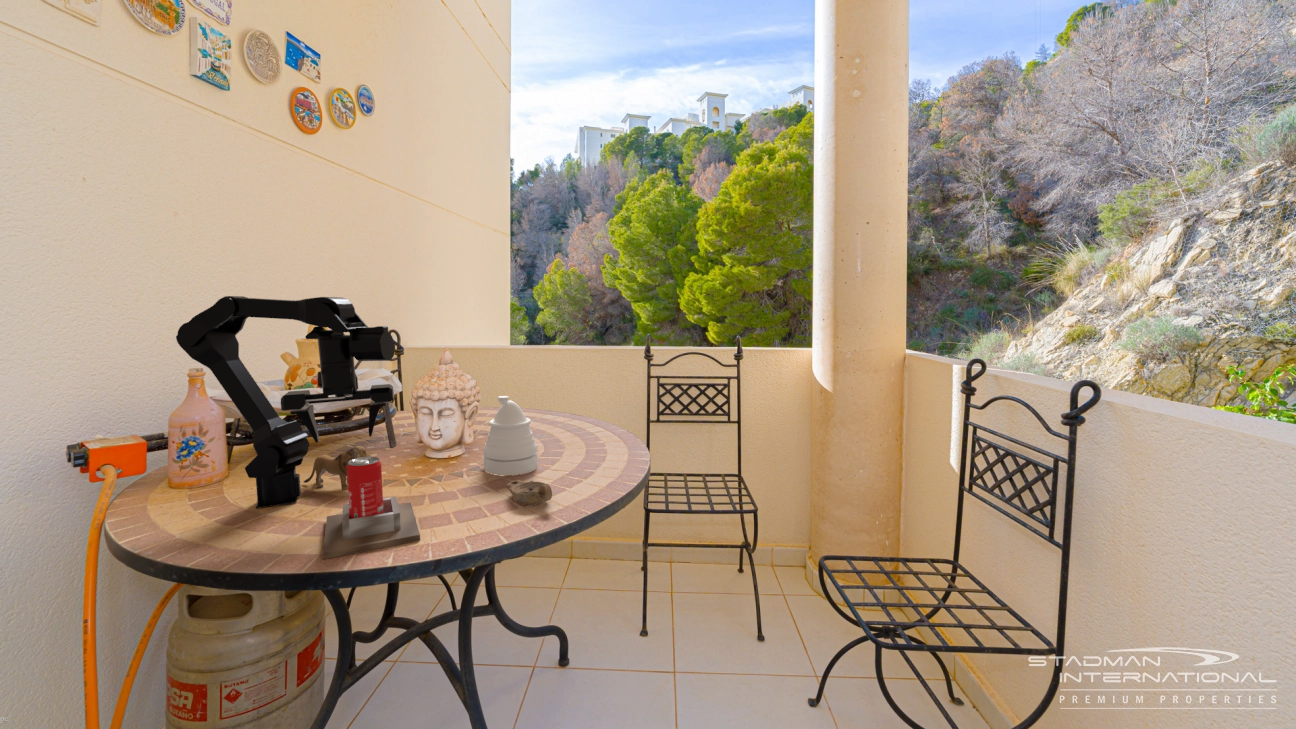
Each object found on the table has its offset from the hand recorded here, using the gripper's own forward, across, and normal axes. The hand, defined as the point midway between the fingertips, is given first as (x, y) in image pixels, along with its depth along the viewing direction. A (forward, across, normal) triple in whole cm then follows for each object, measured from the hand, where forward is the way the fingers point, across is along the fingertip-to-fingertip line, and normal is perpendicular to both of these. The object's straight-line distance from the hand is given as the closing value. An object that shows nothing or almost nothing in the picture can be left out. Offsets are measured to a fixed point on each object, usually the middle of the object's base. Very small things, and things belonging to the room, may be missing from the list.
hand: (344, 439), depth 102 cm
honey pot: (+14, -34, -9) cm, 38 cm away
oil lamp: (+14, -33, +15) cm, 39 cm away
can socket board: (+13, -5, +17) cm, 22 cm away
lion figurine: (+13, +3, -11) cm, 17 cm away
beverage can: (+12, -4, +18) cm, 22 cm away
